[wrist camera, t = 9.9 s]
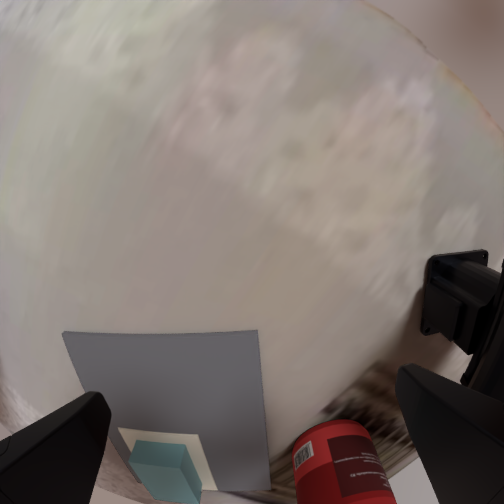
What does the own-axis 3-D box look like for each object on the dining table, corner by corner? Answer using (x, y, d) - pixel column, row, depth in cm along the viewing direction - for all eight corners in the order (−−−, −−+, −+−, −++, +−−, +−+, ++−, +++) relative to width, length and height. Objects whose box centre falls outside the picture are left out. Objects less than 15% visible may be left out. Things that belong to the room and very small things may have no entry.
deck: (202, 483, 24) (199, 504, 21) (159, 480, 24) (154, 499, 21) (185, 444, 22) (180, 468, 19) (136, 439, 22) (128, 461, 19)
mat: (257, 329, 20) (258, 334, 19) (270, 486, 25) (271, 491, 24) (64, 331, 20) (60, 335, 19) (139, 479, 25) (137, 483, 24)
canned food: (296, 470, 24) (307, 554, 13) (283, 428, 22) (296, 534, 12) (366, 452, 24) (394, 531, 13) (367, 407, 22) (409, 502, 11)
